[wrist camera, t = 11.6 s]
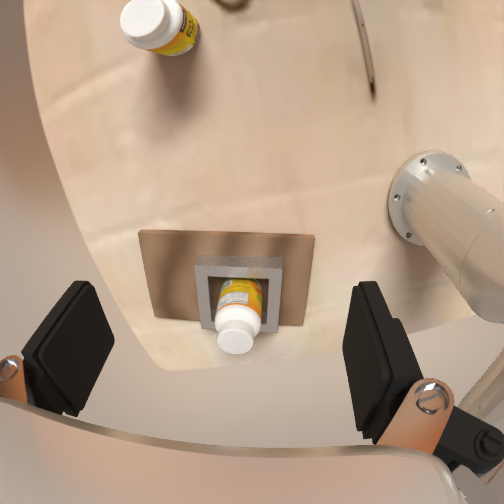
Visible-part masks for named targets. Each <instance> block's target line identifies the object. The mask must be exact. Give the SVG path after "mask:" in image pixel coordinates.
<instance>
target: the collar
mask: <svg viewBox="0 0 504 504" xmlns="http://www.w3.org/2000/svg"><path fill="white" fill-rule="evenodd" d="M194 267H195V277H196V286H197V296H198V304H199V313H200V321H201V329H211V330H216V328H215V315H216V311H217V310H214V302H213V289H212V276H213V277H235V278H260V279H269V283H268V302H267V312H261V327H260V331H259V332H269V333H277V330H278V318H279V307H280V295H281V282H282V258H277V257H250V256H223V255H198V257H197V259H196V262H195V265H194Z"/></svg>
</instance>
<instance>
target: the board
mask: <svg viewBox="0 0 504 504" xmlns="http://www.w3.org/2000/svg"><path fill="white" fill-rule="evenodd" d="M138 236H139V242H140V248H141V253H142V259H143V264H144V269H145V274H146V279H147V284H148V289H149V293H150V298H151V303H152V307H153V311H154V316H155V317H161V318H172V319H184V320H197V321H200V313H199V304H198V296H197V286H196V277H195V267H194V265H195V262H196V259H197V257H198V255H223V256H250V257H277V258H282V282H281V295H280V307H279V318H278V325H303V322H304V315H305V309H306V302H307V295H308V288H309V281H310V273H311V266H312V258H313V249H314V241H315V238H314V235H304V234H279V233H251V232H218V231H179V230H140V231H139V233H138ZM228 278H229V277H213V276H212V289H213V302H214V310H217V306H218V302H219V297H220V292H221V288H222V285H223V283H224V282H225V280H226V279H228ZM255 279H256V280H257V281H258V282H259V283H260V285H261V287H262V312H267V302H268V283H269V279H260V278H255Z"/></svg>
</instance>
